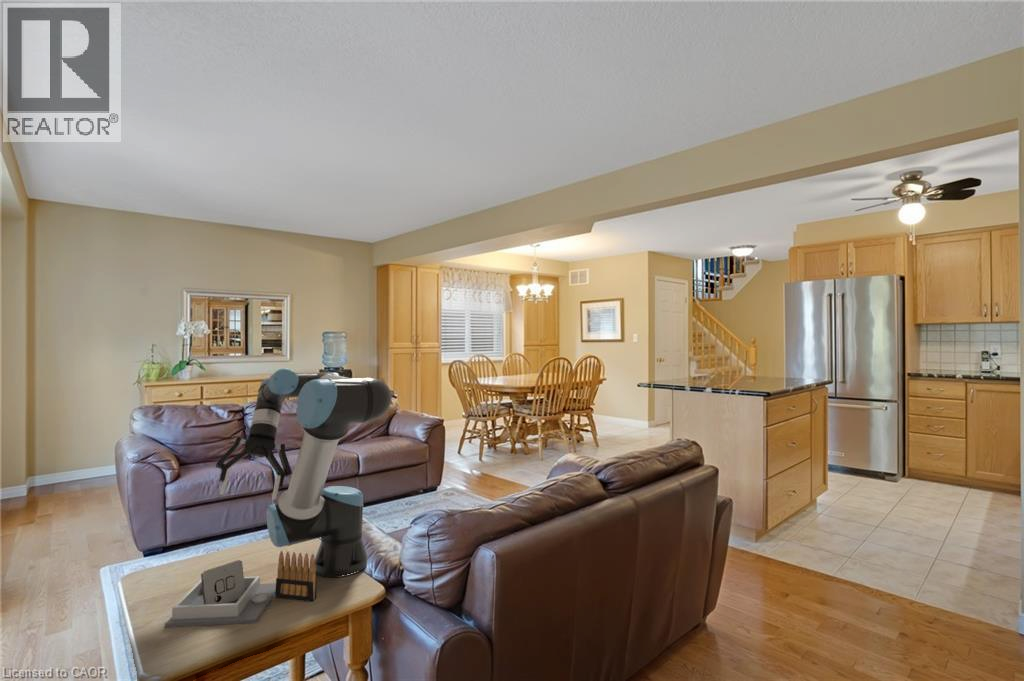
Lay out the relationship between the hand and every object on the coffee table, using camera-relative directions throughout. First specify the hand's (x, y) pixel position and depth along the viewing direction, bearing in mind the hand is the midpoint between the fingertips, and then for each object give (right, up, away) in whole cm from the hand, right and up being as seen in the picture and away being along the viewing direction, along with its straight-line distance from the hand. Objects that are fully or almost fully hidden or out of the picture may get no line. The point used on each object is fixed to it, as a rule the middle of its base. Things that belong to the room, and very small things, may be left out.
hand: (248, 496), depth 143 cm
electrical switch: (+1, -22, -16) cm, 27 cm away
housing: (+3, -23, -16) cm, 28 cm away
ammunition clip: (+18, -23, -12) cm, 32 cm away
